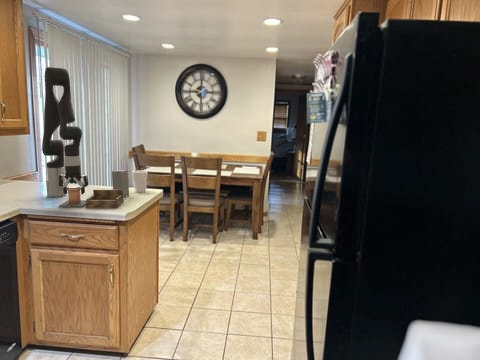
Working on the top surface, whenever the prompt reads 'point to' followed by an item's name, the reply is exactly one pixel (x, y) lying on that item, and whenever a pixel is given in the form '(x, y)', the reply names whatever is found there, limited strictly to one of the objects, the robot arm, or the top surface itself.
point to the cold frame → (105, 199)
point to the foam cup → (140, 180)
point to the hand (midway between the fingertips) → (74, 194)
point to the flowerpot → (74, 194)
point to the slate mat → (67, 205)
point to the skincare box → (120, 181)
